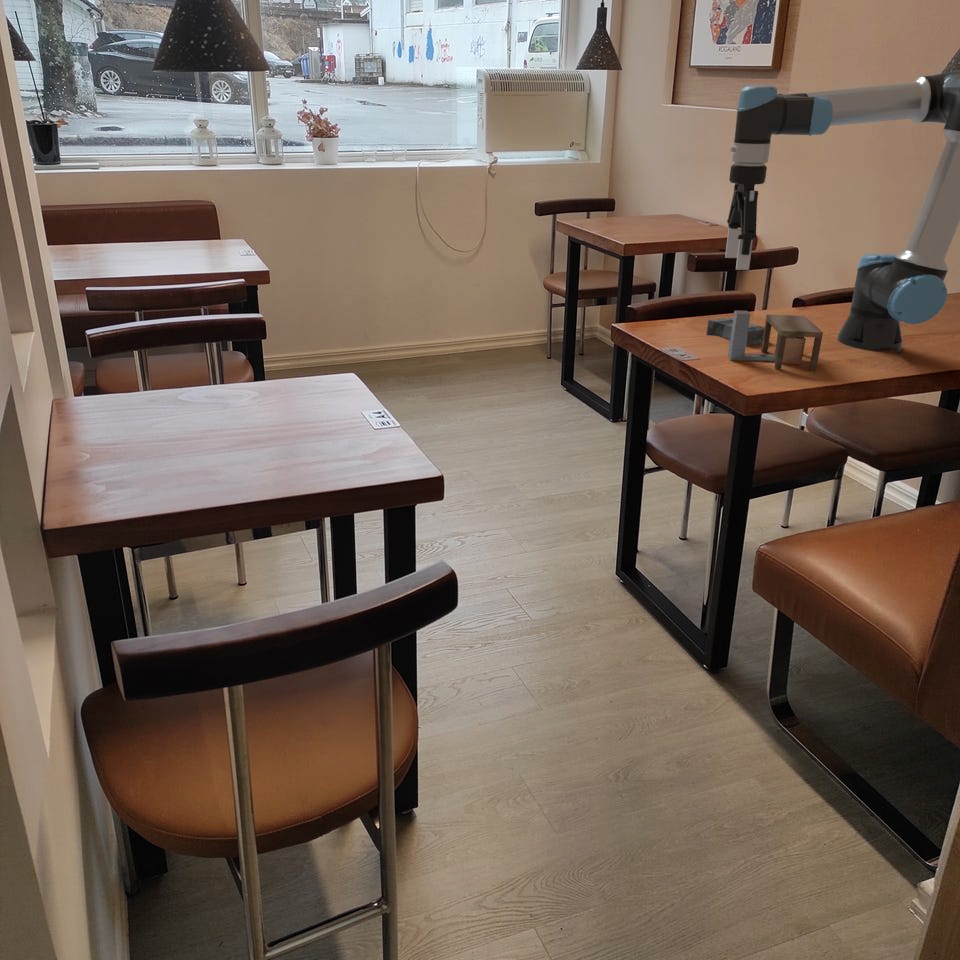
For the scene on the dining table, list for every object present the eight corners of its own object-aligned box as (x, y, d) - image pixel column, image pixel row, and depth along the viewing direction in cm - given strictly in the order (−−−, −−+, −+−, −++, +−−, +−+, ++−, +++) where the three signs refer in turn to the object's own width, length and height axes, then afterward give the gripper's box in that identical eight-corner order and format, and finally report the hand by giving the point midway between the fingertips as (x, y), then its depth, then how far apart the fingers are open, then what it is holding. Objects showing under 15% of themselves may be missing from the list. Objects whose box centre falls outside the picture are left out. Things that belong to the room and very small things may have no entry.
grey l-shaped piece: (795, 357, 212) (803, 311, 208) (801, 364, 208) (809, 317, 203) (727, 355, 213) (733, 309, 209) (731, 361, 209) (738, 314, 204)
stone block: (732, 334, 237) (734, 314, 235) (771, 348, 225) (775, 328, 223) (705, 337, 233) (708, 317, 231) (744, 352, 221) (747, 331, 219)
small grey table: (797, 357, 217) (805, 315, 213) (814, 376, 204) (823, 332, 200) (760, 356, 218) (766, 314, 213) (774, 374, 204) (781, 330, 200)
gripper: (721, 158, 206) (711, 252, 215) (742, 169, 183) (729, 274, 192) (755, 158, 205) (743, 253, 214) (779, 170, 183) (765, 275, 192)
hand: (736, 263), depth 203 cm, fingers open, 13 cm apart
